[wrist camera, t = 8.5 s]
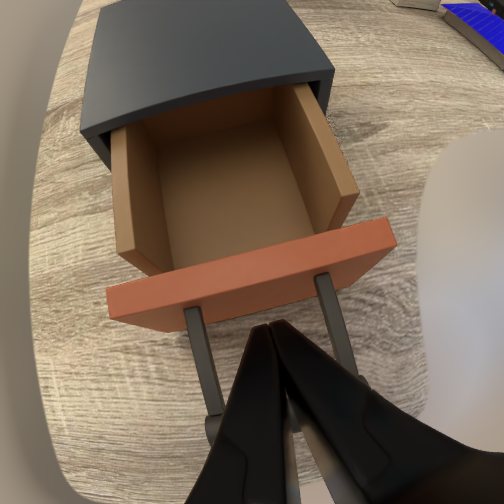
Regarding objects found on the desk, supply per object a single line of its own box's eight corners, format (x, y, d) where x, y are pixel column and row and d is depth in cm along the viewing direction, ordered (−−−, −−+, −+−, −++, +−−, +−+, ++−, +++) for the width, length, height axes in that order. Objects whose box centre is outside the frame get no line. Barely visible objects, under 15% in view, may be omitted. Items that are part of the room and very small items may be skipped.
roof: (472, 13, 30) (483, -11, 24) (530, 64, 26) (545, 41, 21) (435, 16, 28) (446, -13, 23) (505, 76, 25) (523, 47, 20)
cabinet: (314, 167, 21) (335, 68, 13) (141, 211, 21) (79, 131, 12) (262, 52, 25) (259, -31, 17) (133, 83, 25) (100, 8, 16)
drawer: (377, 377, 16) (439, 388, 9) (190, 426, 16) (145, 467, 9) (288, 117, 22) (293, 37, 15) (141, 153, 21) (101, 84, 14)
